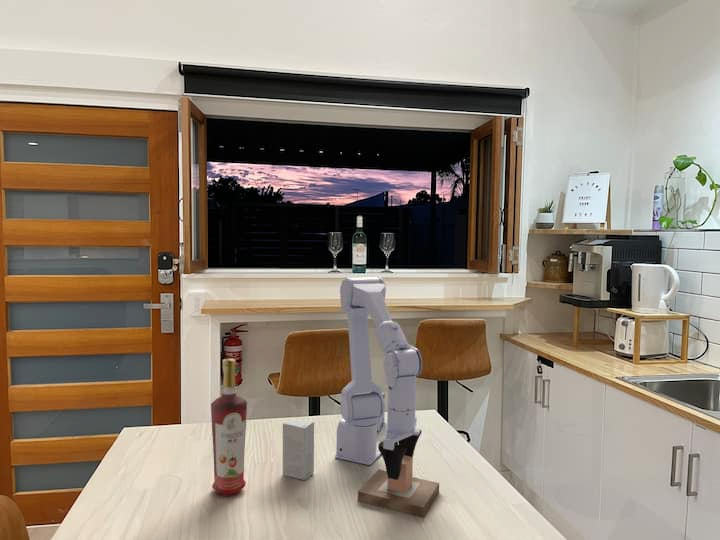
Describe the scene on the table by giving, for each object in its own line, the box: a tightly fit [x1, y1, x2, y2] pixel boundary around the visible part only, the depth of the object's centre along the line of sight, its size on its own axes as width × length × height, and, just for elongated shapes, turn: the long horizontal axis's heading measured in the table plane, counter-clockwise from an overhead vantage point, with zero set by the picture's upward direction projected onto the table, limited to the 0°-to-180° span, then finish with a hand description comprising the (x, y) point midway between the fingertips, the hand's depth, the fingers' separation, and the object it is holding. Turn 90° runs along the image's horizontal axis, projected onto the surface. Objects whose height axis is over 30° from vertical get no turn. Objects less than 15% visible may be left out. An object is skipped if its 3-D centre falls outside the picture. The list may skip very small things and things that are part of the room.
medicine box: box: [369, 392, 386, 432], centre depth 148 cm, size 8×4×9 cm, turn 168°
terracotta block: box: [387, 455, 414, 493], centre depth 108 cm, size 4×4×6 cm
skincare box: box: [282, 417, 315, 481], centre depth 117 cm, size 6×4×12 cm
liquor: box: [210, 358, 248, 497], centre depth 109 cm, size 7×7×28 cm
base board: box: [357, 469, 440, 518], centre depth 109 cm, size 14×11×2 cm
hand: (399, 470), depth 108 cm, fingers open, 7 cm apart
